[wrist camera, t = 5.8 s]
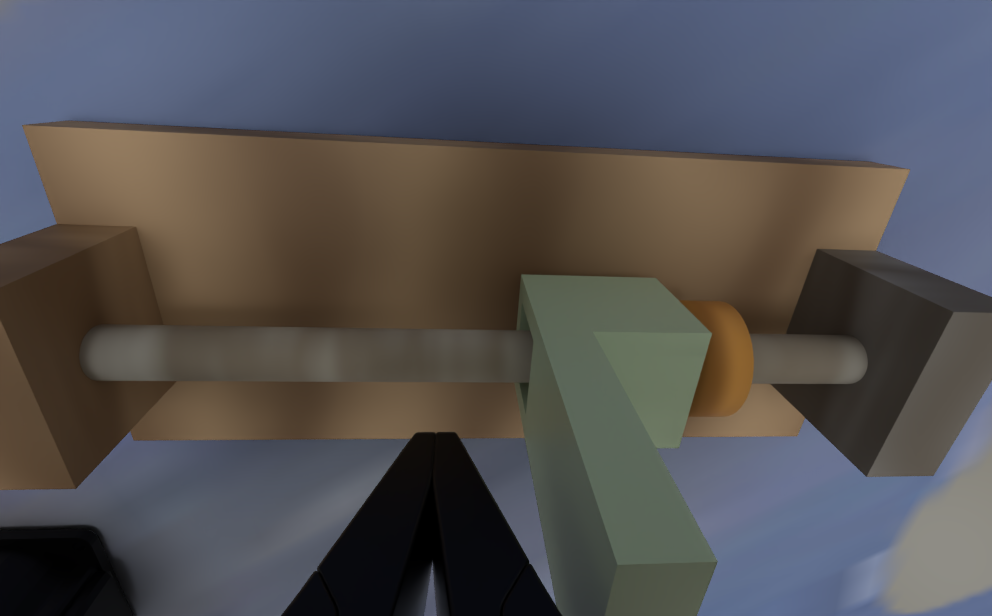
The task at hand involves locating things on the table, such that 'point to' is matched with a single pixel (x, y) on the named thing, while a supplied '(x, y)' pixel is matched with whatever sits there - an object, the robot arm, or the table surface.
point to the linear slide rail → (451, 292)
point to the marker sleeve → (612, 442)
